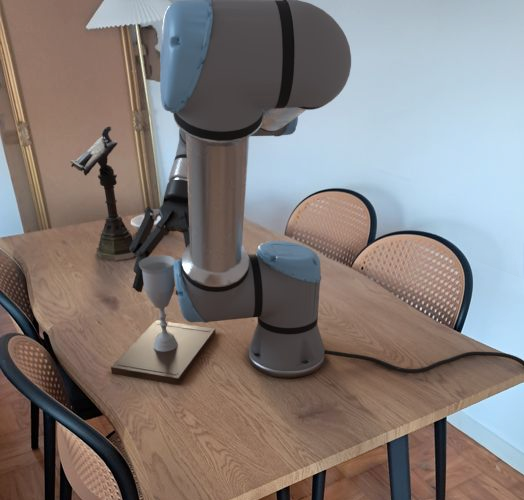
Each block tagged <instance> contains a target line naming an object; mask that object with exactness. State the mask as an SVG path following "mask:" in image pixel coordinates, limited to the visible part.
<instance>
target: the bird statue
mask: <svg viewBox="0 0 524 500" xmlns="http://www.w3.org/2000/svg"><path fill="white" fill-rule="evenodd" d="M111 131H112V127H111V126H105V127H104V128H103V129H102V132H101V135H102V136H101V137H100V138H99V137H98V139H97V140H96V141H95V142H94V143H93V144H92V145H91V146H90V147H89V149H88V150H86V151H85V152H84V153H83V154H82V155H80V156H79V157H78V158H77V159H76V160H74V159H70V160H69V162H70V163H71V164H70V165H71V166H70V167H71V168H73V167H74V168H75V170H78V171H80V172H83V175H84V176H85V177H86V176H87V175H88V174H89V173H90V172H91V171H92V169H93V168H94V167H95V166H96V165H97V164H98V165H99V169H98V172H99V174H98V175H97V178H98V180H99V185H100V186H101V187H103V190H104V194H105V195H104V196H105V201H104V202H105V204H106V208H107V214H108V215H107V216H106V217H105V218H104V221H105V222H104V226H103V228H102V230H101V233H100V234H99V236H100V238H99V243H98V247H96V254H97V256H98V257H99V258H100V259H101V260H104V261H113V262H118V261H124V260H128V259H129V260H130V259H132V258H134V257H136V256H135V255H134V254H133V253H132V252H131V251H130V250H129V248H130V246H131V244H132V242H133V240H134V238H133V236H132V232H131V231H130V230H129V228H128V227H126V225H125V223H124V221H123V217H122V216H121V215H120V214H119V213H118V211H117V210H118V209H117V202H118V200H117V199H116V195H115V186H116V185H117V183H118V182H117V177H118V175H117V173H115V170H114V169H113V167H112V166H111V165H110V164H108V157H109V156H110V154H111V153H112V152H113V150H114V149H115V147H117V145H118V141H117V140H112V138H111V137H110V136H109V133H110V132H111Z"/></svg>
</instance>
